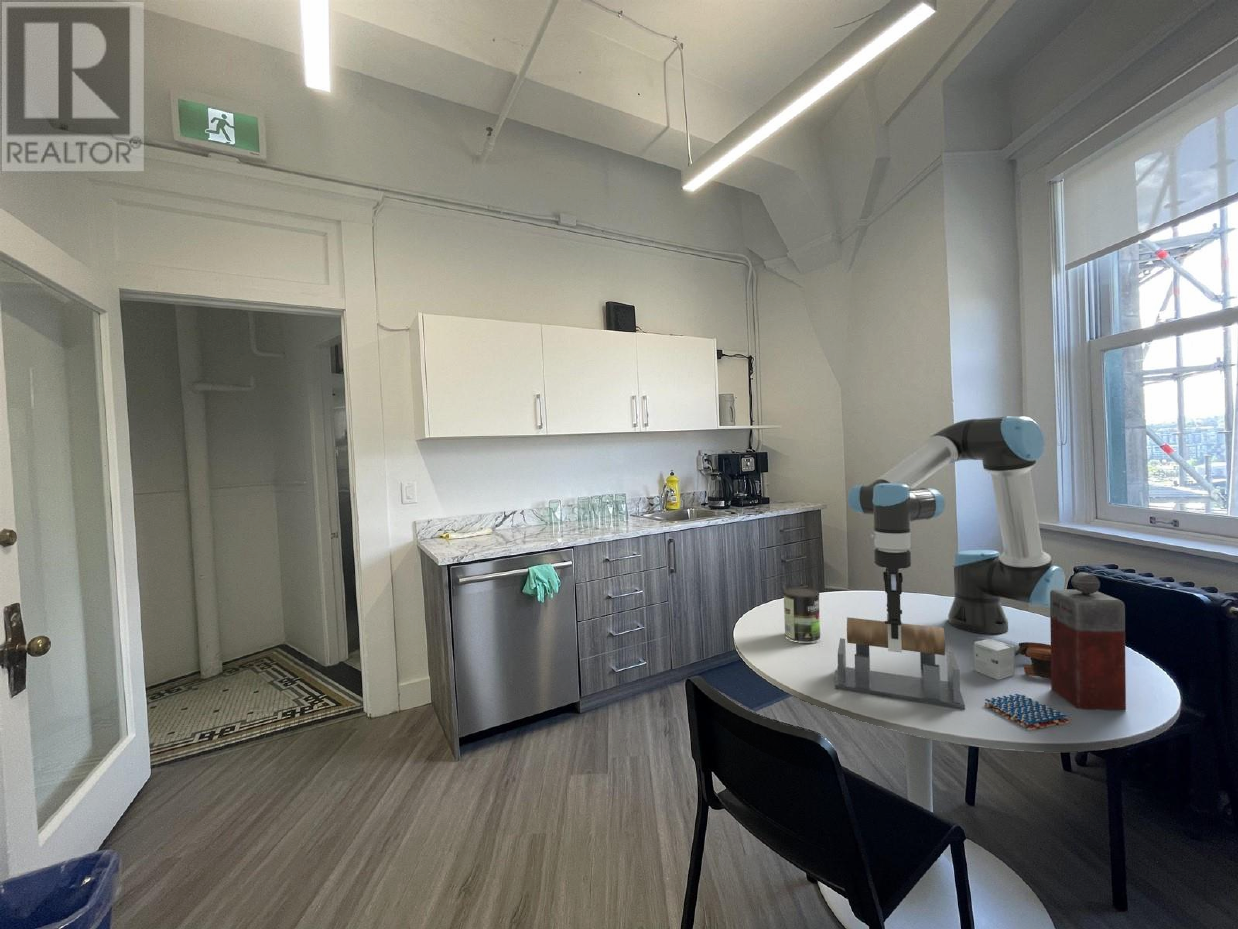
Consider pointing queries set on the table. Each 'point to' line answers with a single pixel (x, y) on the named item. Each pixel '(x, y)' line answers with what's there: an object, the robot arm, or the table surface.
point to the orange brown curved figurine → (1037, 658)
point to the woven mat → (1026, 711)
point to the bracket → (901, 679)
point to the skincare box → (994, 659)
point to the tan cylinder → (911, 636)
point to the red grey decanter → (1088, 645)
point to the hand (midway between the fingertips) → (894, 645)
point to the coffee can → (801, 614)
